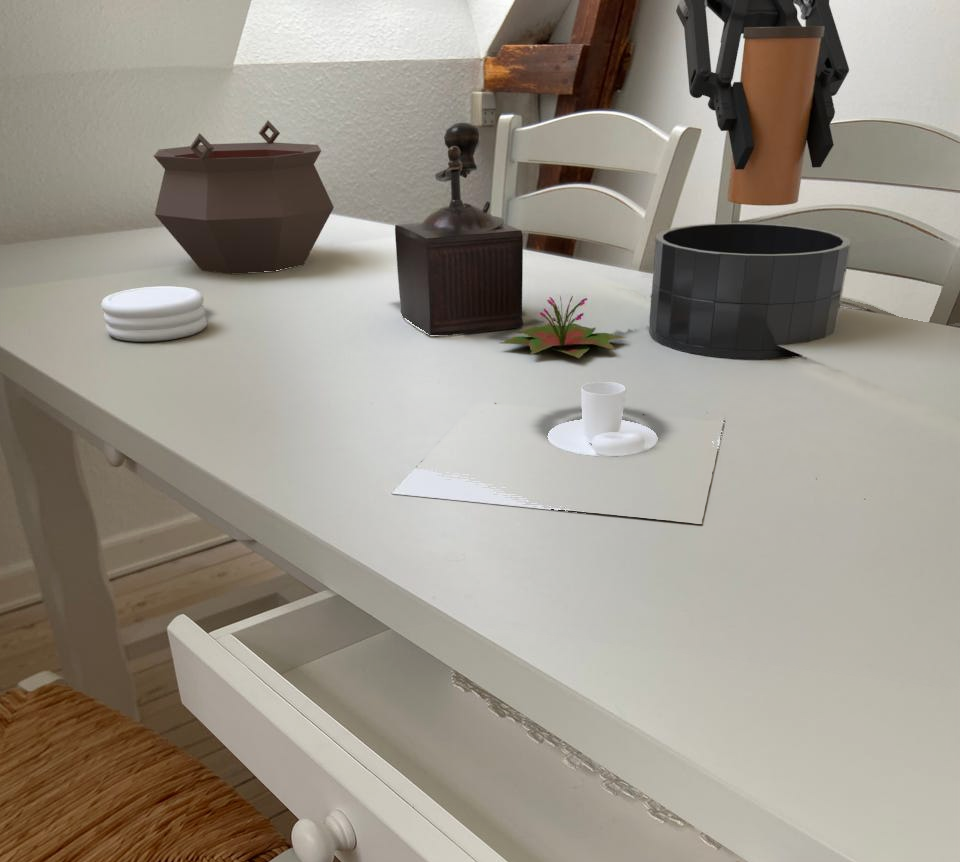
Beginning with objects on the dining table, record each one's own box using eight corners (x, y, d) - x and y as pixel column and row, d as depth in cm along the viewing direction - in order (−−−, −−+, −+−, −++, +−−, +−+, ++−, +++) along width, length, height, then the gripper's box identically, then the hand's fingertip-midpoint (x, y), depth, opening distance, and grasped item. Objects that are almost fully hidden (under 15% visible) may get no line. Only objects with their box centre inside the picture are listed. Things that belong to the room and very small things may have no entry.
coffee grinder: (531, 327, 102) (534, 130, 93) (428, 338, 99) (421, 135, 90) (476, 296, 115) (474, 120, 105) (383, 305, 111) (373, 124, 102)
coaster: (116, 348, 97) (109, 311, 95) (99, 326, 105) (92, 291, 103) (218, 335, 101) (213, 299, 99) (194, 314, 109) (189, 281, 107)
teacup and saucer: (648, 471, 68) (652, 413, 66) (533, 461, 70) (534, 404, 68) (663, 429, 75) (668, 375, 73) (559, 421, 77) (561, 368, 75)
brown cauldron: (207, 245, 146) (189, 119, 137) (365, 249, 141) (356, 119, 133) (125, 279, 126) (98, 133, 117) (307, 284, 121) (292, 134, 113)
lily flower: (543, 325, 103) (544, 279, 100) (648, 342, 97) (651, 293, 94) (475, 352, 95) (474, 302, 92) (584, 372, 89) (587, 319, 86)
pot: (873, 346, 95) (892, 245, 90) (713, 368, 89) (725, 262, 84) (761, 307, 109) (772, 218, 104) (616, 323, 103) (622, 230, 99)
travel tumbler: (814, 203, 89) (841, 26, 82) (753, 207, 87) (775, 26, 80) (770, 194, 94) (791, 26, 87) (711, 198, 92) (728, 27, 85)
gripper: (825, -24, 95) (870, 184, 90) (628, -23, 93) (663, 190, 88) (860, -100, 88) (912, 122, 83) (648, -100, 86) (687, 127, 81)
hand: (783, 156), depth 85 cm, fingers closed on travel tumbler, 6 cm apart
